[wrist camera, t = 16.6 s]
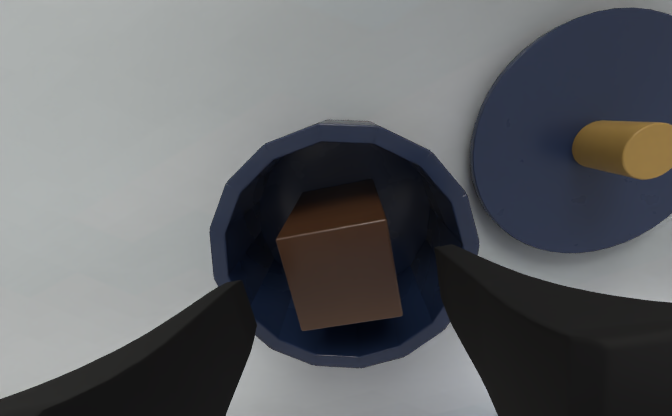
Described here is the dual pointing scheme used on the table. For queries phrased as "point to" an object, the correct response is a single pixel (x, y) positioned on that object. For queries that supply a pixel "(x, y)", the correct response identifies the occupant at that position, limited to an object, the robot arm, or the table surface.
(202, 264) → the table surface
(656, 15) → the tin lid
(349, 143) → the tin
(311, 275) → the walnut block
